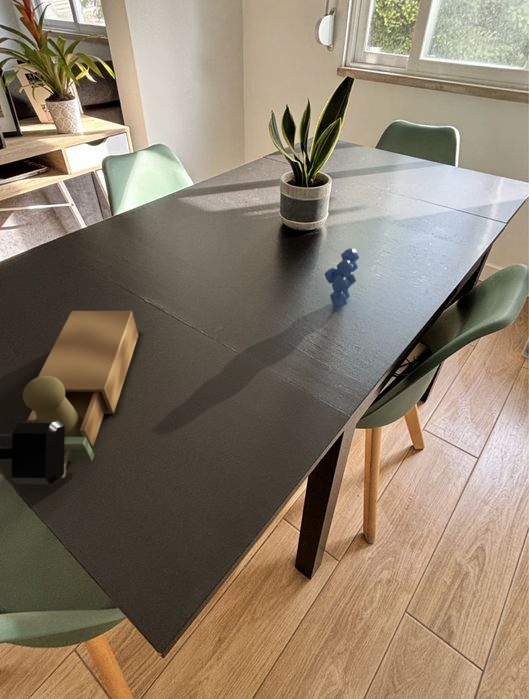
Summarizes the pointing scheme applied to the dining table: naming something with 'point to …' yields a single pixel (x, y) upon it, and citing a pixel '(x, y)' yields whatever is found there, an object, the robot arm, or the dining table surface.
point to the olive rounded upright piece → (52, 403)
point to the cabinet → (94, 353)
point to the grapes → (342, 277)
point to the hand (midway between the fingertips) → (16, 436)
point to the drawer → (83, 425)
